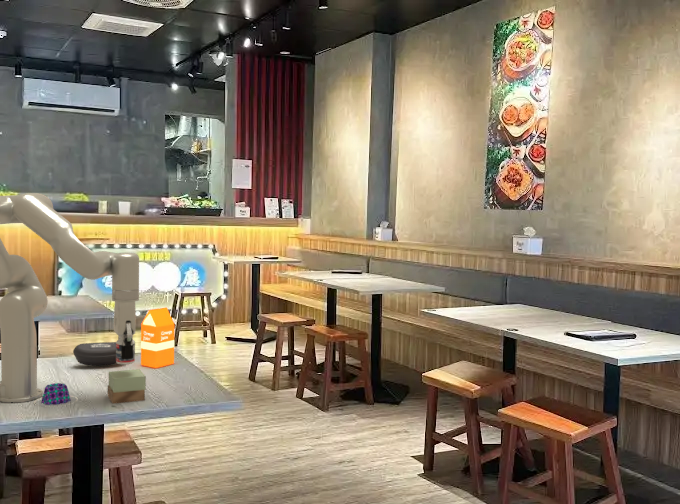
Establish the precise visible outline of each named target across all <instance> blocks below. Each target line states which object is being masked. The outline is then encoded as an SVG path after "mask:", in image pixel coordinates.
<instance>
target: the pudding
mask: <svg viewBox="0 0 680 504" xmlns="http://www.w3.org/2000/svg"><path fill="white" fill-rule="evenodd" d="M71 398H74V399H76V401H74V402H72V403H69V402H70V401H71ZM38 400H39V401H41V404H42V403H43V405H44V406H45V407H44V408H48V407H49V406H50V408H52V407H54V408H55V407H57V406H59V405H61V404H64V405H62V407H64V406H65V404H67V406H69V405H72V404H74V403H76V402H78V400H79V398H78V397H77V396H74V395H71V394H70V392H69V388H68V386H67V385H66V383H60V382H57V383H54V382H53V383H49V384H47V385H45V387H44V390H43V395H42V396H41V397H40V398H38V399H35V400H33V404H34V405H36V404H37V402H39V401H38ZM36 401H37V402H36ZM35 403H36V404H35ZM68 403H69V404H68ZM52 405H54V406H52ZM36 406H38V407H40V405H38V404H37V405H36Z"/></svg>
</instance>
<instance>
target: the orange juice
mask: <svg viewBox="0 0 680 504" xmlns="http://www.w3.org/2000/svg"><path fill="white" fill-rule="evenodd" d="M140 327H141V328H140V365H141V366H144V367H150V368H155V369H158V368H161V367H165V366H170V365H174V364H175V322H174V320H173V318H172V316H171V314H170V311H169V309H168V307H161V308H160V307H159V308H155V309H148V311H147V313H146V315H145V317H144V318H143V320H142V322H141V324H140Z"/></svg>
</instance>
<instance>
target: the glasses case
mask: <svg viewBox="0 0 680 504" xmlns="http://www.w3.org/2000/svg"><path fill="white" fill-rule="evenodd" d="M116 342H117V341H106V342H87V343H85V342H84V343H78V344H77V345H76V346H75V347H74V349H73V350H72V352H73V353H72V354H73V355H74V357H75V360H76V361H77V362H78V364H80V365H84V366H93V367H95V366H96V367H101V366H112V365H117V364H118V363H116Z"/></svg>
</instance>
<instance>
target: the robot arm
mask: <svg viewBox="0 0 680 504" xmlns="http://www.w3.org/2000/svg"><path fill="white" fill-rule="evenodd" d="M10 224H23V225H24V226H26V227H27V228H28V229H30V230H31V231H32V232H33V233H34V234H35V235H37V236H38V237H40V238H41V239H42V240H43V241H44V242H45V243H47V244H49V246H51V249H52V250H53V251H54V253H55V254H56V255H57V257H59V259H60V260H61V261H62V262H63V263H65V264H66V266H68V267H69V268H70V269H72V270H73V271H75V272H76V273H77V274H78V275H80V276H81V277H83V278H85V279H88V280H91V281H92V280H99V279H101V278H104V277H108V276H111V301H112V302H114V306H113V307H114V308H113V332H114V333H115V334H116V335H117V336H118V338H117V340H119V336H120V335H121V334H122V345H121V358H122V359H132V358H133V340H134V338H132V335H133V336H134V335H135V334H136V321H137V319H136V315H137V314H136V302H138V301H140V300H139V299H140V257H139V255H138V254H137V253H134V252H111V251H105V250H100V251H99V250H98V251H93V250H92V249H90V248H89V247H88V246H86V245H85V244H84V243H82V241H80V239H78V237H77V236H76V234H75V232H74V230H73V225H72V223H71V221H69V220H68V219H66V218H65V217H64V216H63V215H62V214H61V213H59V212H58V211H56V210H55V209H54V204H53V201H52V200H51V199H50V198H49V197H48V196H46V195H45V194H43V193H37V192H26V193H21V194H16V195H15V194H12V195H0V225H10ZM5 289H7V291H8V292H7V293H6V294H5V295H4V296H2V298H1V299H0V347H1V348H0V358H1V359H0V363H1V364H0V365H1V366H0V367H1V373H0V374H1V380H0V402H1V403H11V402H13V403H14V404H15V403H23V402H25V403H26V402H30V401H35V400H36V399H38V398H41V397H43V393H44V390H42V389H40V388H38V345H37V340H38V339H37V329H36V328H37V327H36V324H35V318H37V317H39V316H41V315H42V314H43V313H44V312H45V311H46V310H47V308H48V302H49V300H48V296H47V294H46V292H45V289H44V288H43V286H42V283H41V282H40V280H39V278H38V276H37V274H36V272H35V271H34V268H33V267H32V265H31V264H30V262H29V261H28V260H27V259H26V258H24V257H23V256H21V255H18V254H10V253H9V251H8V250H7V249H6V247H5V245H4V242H3V241H2V239H1V238H0V290H5ZM124 333H127V335H124ZM125 337H127V338H125ZM13 403H11V404H13Z"/></svg>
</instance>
